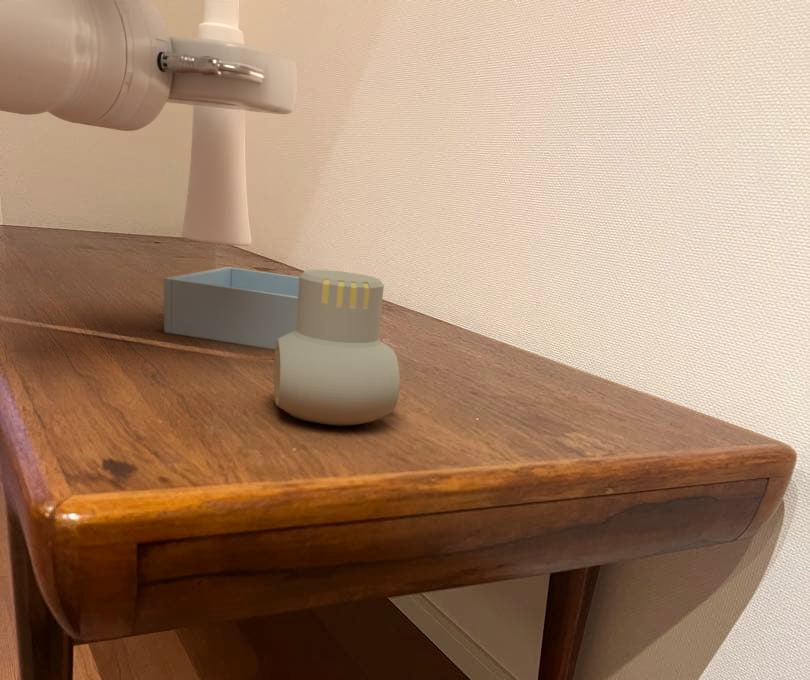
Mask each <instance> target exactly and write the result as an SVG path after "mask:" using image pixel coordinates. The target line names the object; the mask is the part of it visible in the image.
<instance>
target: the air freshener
mask: <svg viewBox="0 0 810 680" xmlns="http://www.w3.org/2000/svg"><path fill="white" fill-rule="evenodd" d="M298 277H299V290H298V305H297V320H296V330H295V331H294V332H291V333H289V334H287V335H284V336H282V337H281V338H279V339H277V341H276V346H275V349H274V357H273V393H274V401H275V405H276V406H277V407H278V408H280V409H281V410H283V411H284V412H286V413H288V414H289V415H290V416H292V417H293V418H295V419H298V420H300V421H304V422H308V423H315V424H319V425H326V426H336V427H339V426H340V427H341V426H342V427H343V426H344V427H346V426H348V427H349V426H357V425H364V424H369V423H371V422H374V421H376V420H380V419H381V418H384V417H385V416H387V415H389V414H390V413H392V412H393V411H394V410H395V409H396V407H397V405H398V401H399V398H400V397H399V396H400V389H401V386H400V385H401V377H400V376H401V375H400V374H401V373H400V367H399V360H398V357H397V355H396V352H395V351H394V349H392V347H390V346H389V345H387V344H386V343H385V342H383V341H381V339H380V332H381V319H382V309H383V300H384V299H383V298H384V287H385V286H384V284H383V282H382V281H381V280H380V278H377V277H375V276H370V275H365V274H362V273H361V274H360V273H355V272H349V271H339V270H328V269H327V270H326V269H310V270H309V269H308V270H304V271H303V272H301V273H300V274H299V276H298Z"/></svg>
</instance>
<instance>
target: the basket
mask: <svg viewBox="0 0 810 680" xmlns="http://www.w3.org/2000/svg"><path fill="white" fill-rule="evenodd" d="M298 290H299V276H296V275H288V274H282V273H275V272H267V271H261V270H255V269H254V270H253V269H248V268H247V269H246V268H240V267H234V266H224V267H218V268H213V269H212V268H211V269H208V270H203V271H197V272H190V273H186V274H179V275H174V276H169V277H164V278H163V327H164V328H163V331H164V333H167V334H174V335H181V336H186V337H193V338H198V339H205V340H213V341H219V342H225V343H232V344H238V345H244V346H250V347H256V348H261V349H263V348H264V349H270V350H275V346H276V341H277V339H279V338H281V337H282V336H284V335H287V334H289V333H291V332H294V331H295V330H296V320H297V305H298Z"/></svg>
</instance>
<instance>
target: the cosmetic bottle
mask: <svg viewBox="0 0 810 680" xmlns="http://www.w3.org/2000/svg"><path fill="white" fill-rule="evenodd" d="M202 11H203V12H202V13H203V17H202V18H203V19H202V20H203V23H202V22H201V23H199V24H198V25H197V35H196V38H200V39H214V40H224V41H231V42H236V43H241V44H245V34H244V32H243V31H242V29H240V0H203V10H202ZM192 109H193V112H192V115H193V116H192V131H191V132H192V133H191V148H190V149H191V150H190V163H189V164H190V165H189V176H188V185H187V186H188V187H187V195H186V204H185V212H184V217H183V223H182V229H181V237H182V238H183V239H186V240H189V241H194V242H199V243H205V244H214V245H222V246H240V247H243V246H245V247H246V246H247V247H248V246H250V245H252V242H253V241H252V233H251V226H250V218H249V217H250V216H249V206H248V205H249V203H248V191H247V167H246V162H247V161H246V111H244V110H235V109H226V108H216V107H207V106H197V105H193V108H192Z"/></svg>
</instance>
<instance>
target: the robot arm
mask: <svg viewBox="0 0 810 680" xmlns="http://www.w3.org/2000/svg"><path fill="white" fill-rule="evenodd" d="M298 73H299V72H298V66H297V63H296V61H295V60H294V59H293V58H291V57H288V56H286V55H282V54H279V53H276V52H272V51H269V50H267V49H263V48H260V47H256V46H252V45H249V44H245V43H244V44H241V43H236V42H231V41H224V40H214V39H200V38H197V37H185V36H172V35H170V33H169V30H168V28H167V25H166V22H165V21H164V18H163V17H162V15H161V13H160V11H159V10H158V8H157V7H156V6H155V5H154V3H153V2H152V1H151V0H0V111H1V112H5V113H11V114H19V115H24V116H30V115H39V114H44V113H49V114H50V115H52V116H54V117H56V118H57V119H60V120H62V121H65V122H69V123H72V124H79V125H85V126H90V127H98V128H103V129H109V130H117V131H122V132H134V131H138V130H140V129H143V128H145V127H147V126H148V125H150V124H151V123H152V122H153V121H154V120H156V119H157V117H159V115H160V114H161V112H162V111H163V109H164V107H165V106H166V103H169V104H177V105H178V104H179V105H189V106H194V105H197V106H207V107H216V108H226V109H235V110H244V111H245V112H255V113H264V114H275V115H289V114H292V113H293V112H294V110H295V108H296V105H297V97H298V80H299V79H298V77H299V76H298V75H299V74H298Z"/></svg>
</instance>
